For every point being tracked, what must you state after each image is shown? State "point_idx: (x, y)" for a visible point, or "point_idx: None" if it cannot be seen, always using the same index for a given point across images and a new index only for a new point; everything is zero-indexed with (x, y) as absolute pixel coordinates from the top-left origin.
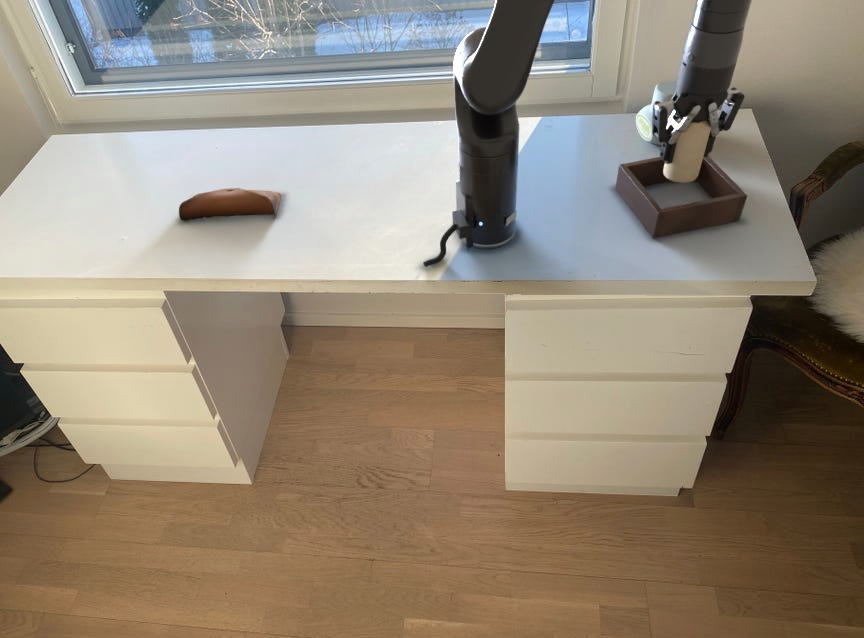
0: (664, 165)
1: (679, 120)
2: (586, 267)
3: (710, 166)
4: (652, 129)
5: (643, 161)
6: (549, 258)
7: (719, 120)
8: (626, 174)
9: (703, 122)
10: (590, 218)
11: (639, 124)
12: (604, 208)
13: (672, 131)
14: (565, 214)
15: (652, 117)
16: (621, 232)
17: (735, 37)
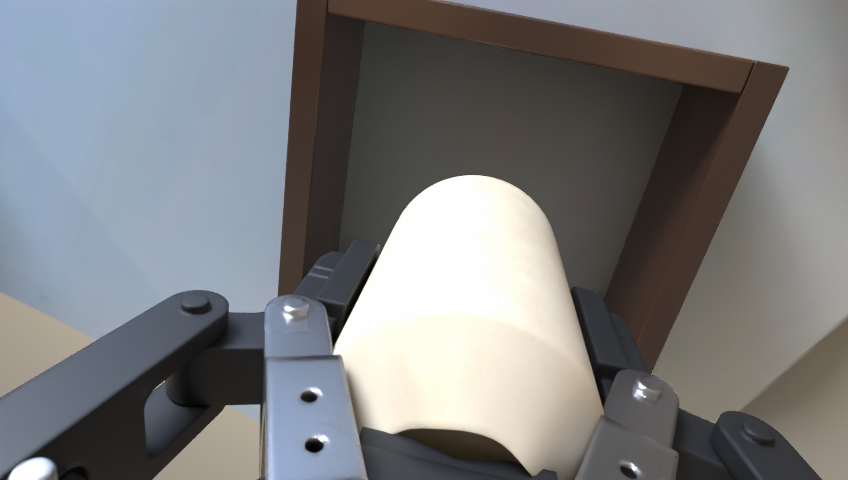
0: (401, 216)
1: (361, 397)
2: (91, 303)
3: (684, 218)
4: (138, 322)
5: (425, 17)
6: (3, 223)
7: (717, 477)
8: (292, 74)
9: None
10: (178, 113)
11: None
12: (247, 85)
13: (341, 333)
14: (102, 44)
15: (25, 384)
16: (242, 230)
17: None
